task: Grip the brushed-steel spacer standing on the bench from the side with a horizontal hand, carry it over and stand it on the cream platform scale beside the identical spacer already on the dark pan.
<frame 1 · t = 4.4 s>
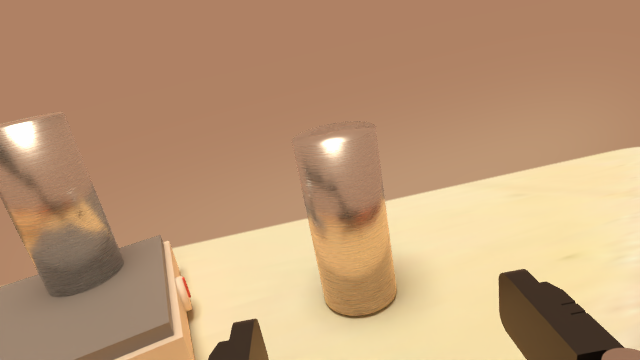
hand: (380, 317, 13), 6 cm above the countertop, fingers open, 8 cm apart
spacer 1: (87, 275, 25), point 3 cm above the countertop, touching scale
spacer 2: (359, 290, 24), on the countertop
scale: (83, 351, 23), on the countertop
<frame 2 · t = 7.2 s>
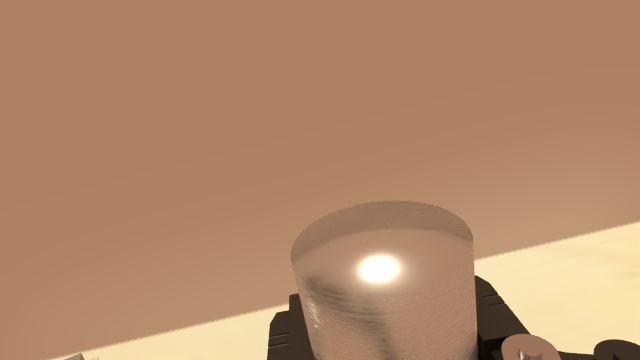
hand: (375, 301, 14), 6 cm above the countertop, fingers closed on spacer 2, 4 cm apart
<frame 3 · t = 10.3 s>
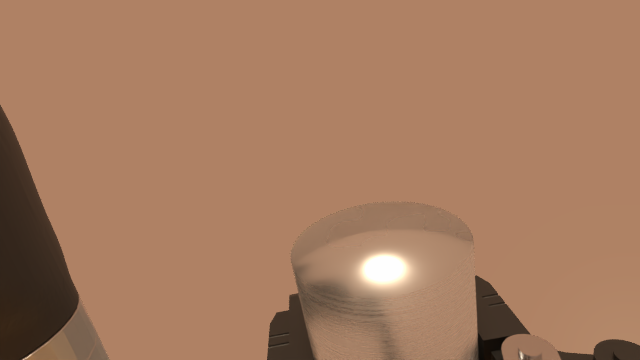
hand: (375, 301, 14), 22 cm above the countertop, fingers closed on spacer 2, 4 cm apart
when the fingers open (11 cm above the countertop, at t = 13.4 s): spacer 2 drops 1 cm, resting on scale.
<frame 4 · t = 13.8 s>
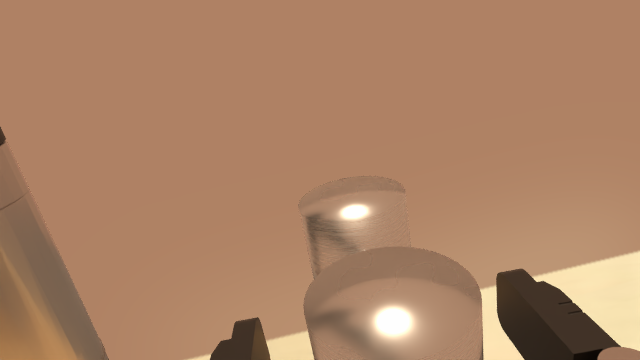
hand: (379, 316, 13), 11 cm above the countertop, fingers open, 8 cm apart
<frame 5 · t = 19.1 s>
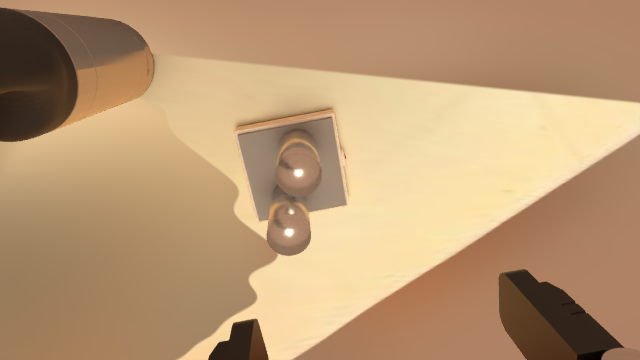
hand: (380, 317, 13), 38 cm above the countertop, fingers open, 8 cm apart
spacer 1: (297, 147, 47), point 3 cm above the countertop, touching scale
spacer 2: (289, 198, 49), point 3 cm above the countertop, touching scale
scale: (294, 163, 51), on the countertop
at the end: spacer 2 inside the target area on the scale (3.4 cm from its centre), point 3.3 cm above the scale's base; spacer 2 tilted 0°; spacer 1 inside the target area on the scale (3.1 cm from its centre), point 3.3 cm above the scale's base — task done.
